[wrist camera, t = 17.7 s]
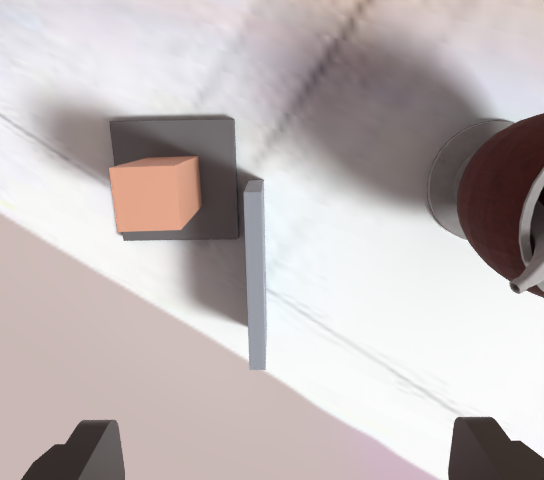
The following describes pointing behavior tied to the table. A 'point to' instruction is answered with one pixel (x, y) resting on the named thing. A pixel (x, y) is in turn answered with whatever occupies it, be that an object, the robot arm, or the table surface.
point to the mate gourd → (496, 196)
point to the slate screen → (255, 272)
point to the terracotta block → (156, 193)
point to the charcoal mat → (212, 166)
